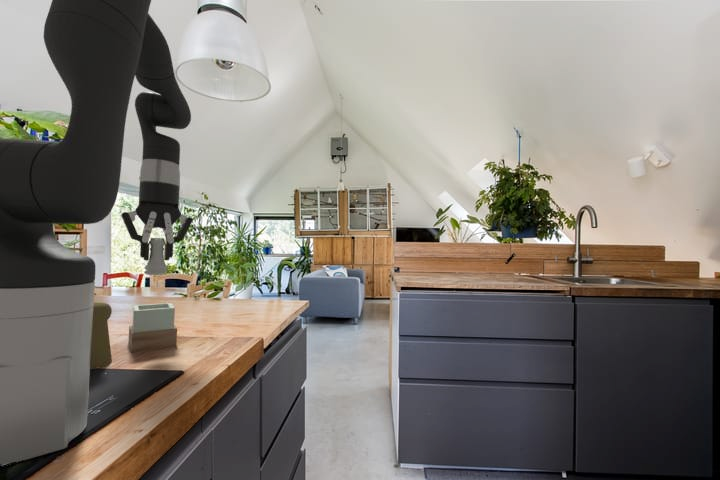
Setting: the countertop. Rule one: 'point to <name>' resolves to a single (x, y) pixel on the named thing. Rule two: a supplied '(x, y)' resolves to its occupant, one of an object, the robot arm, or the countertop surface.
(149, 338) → the walnut base block
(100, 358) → the olive tapered piece
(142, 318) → the sage top block
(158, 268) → the rook chess piece
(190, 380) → the countertop surface
